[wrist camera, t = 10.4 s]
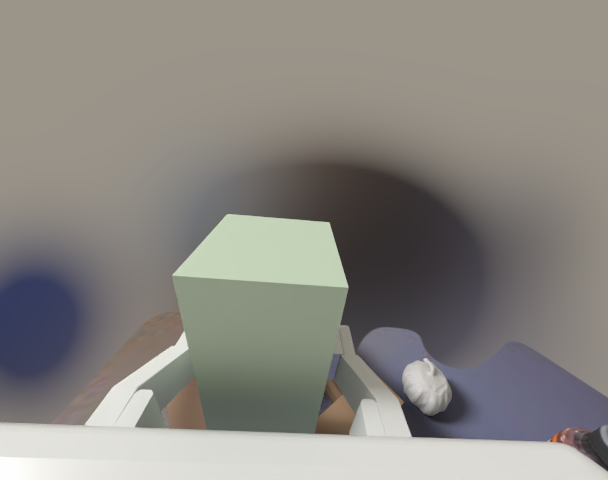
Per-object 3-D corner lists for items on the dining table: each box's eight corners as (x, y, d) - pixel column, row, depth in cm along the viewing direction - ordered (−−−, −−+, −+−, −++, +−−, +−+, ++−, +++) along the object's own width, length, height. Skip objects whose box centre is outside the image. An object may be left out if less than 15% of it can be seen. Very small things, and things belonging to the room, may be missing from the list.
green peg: (239, 378, 15) (227, 213, 9) (304, 381, 15) (329, 222, 10) (216, 470, 11) (171, 275, 5) (305, 472, 11) (348, 287, 6)
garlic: (397, 365, 31) (409, 341, 29) (439, 383, 29) (454, 359, 27) (396, 409, 26) (409, 383, 24) (446, 433, 24) (466, 408, 22)
